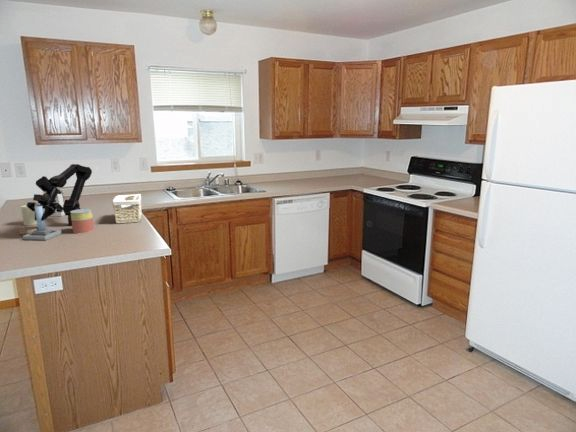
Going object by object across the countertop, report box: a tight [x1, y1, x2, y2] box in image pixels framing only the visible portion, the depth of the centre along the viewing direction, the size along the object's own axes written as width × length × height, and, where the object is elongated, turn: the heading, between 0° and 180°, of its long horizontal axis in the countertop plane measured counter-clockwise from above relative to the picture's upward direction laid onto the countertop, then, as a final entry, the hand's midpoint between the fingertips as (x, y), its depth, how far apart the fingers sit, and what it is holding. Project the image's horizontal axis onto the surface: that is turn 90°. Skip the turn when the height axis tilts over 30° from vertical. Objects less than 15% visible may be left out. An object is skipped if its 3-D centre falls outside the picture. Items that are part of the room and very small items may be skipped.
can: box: [20, 204, 37, 226], centre depth 248 cm, size 9×9×12 cm
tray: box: [22, 229, 63, 242], centre depth 220 cm, size 13×13×2 cm
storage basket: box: [112, 193, 143, 224], centre depth 257 cm, size 24×16×15 cm
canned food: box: [70, 208, 95, 234], centre depth 231 cm, size 11×11×12 cm
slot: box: [18, 225, 38, 237], centre depth 232 cm, size 14×12×1 cm
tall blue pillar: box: [32, 206, 52, 234], centre depth 218 cm, size 7×5×15 cm
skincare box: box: [49, 192, 66, 217], centre depth 269 cm, size 8×6×15 cm
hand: (38, 220), depth 217 cm, fingers closed on tall blue pillar, 4 cm apart
